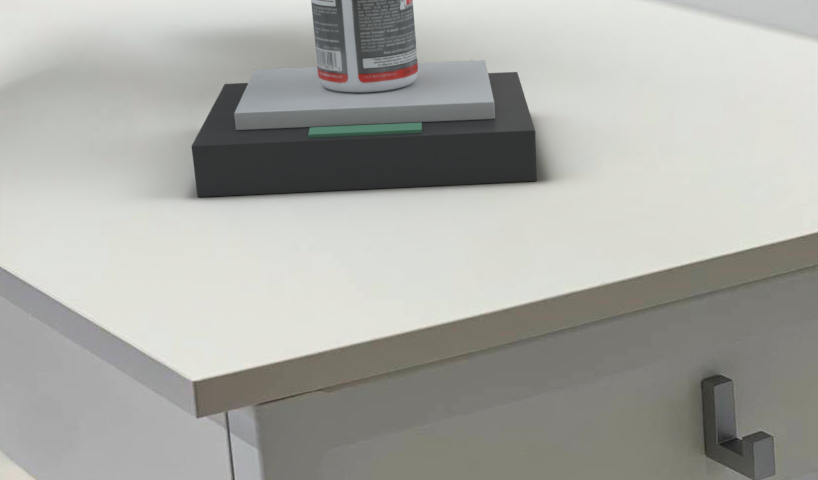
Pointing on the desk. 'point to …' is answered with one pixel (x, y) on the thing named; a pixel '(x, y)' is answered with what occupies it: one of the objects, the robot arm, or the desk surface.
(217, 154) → the scale
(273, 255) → the desk surface
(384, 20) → the pill bottle
